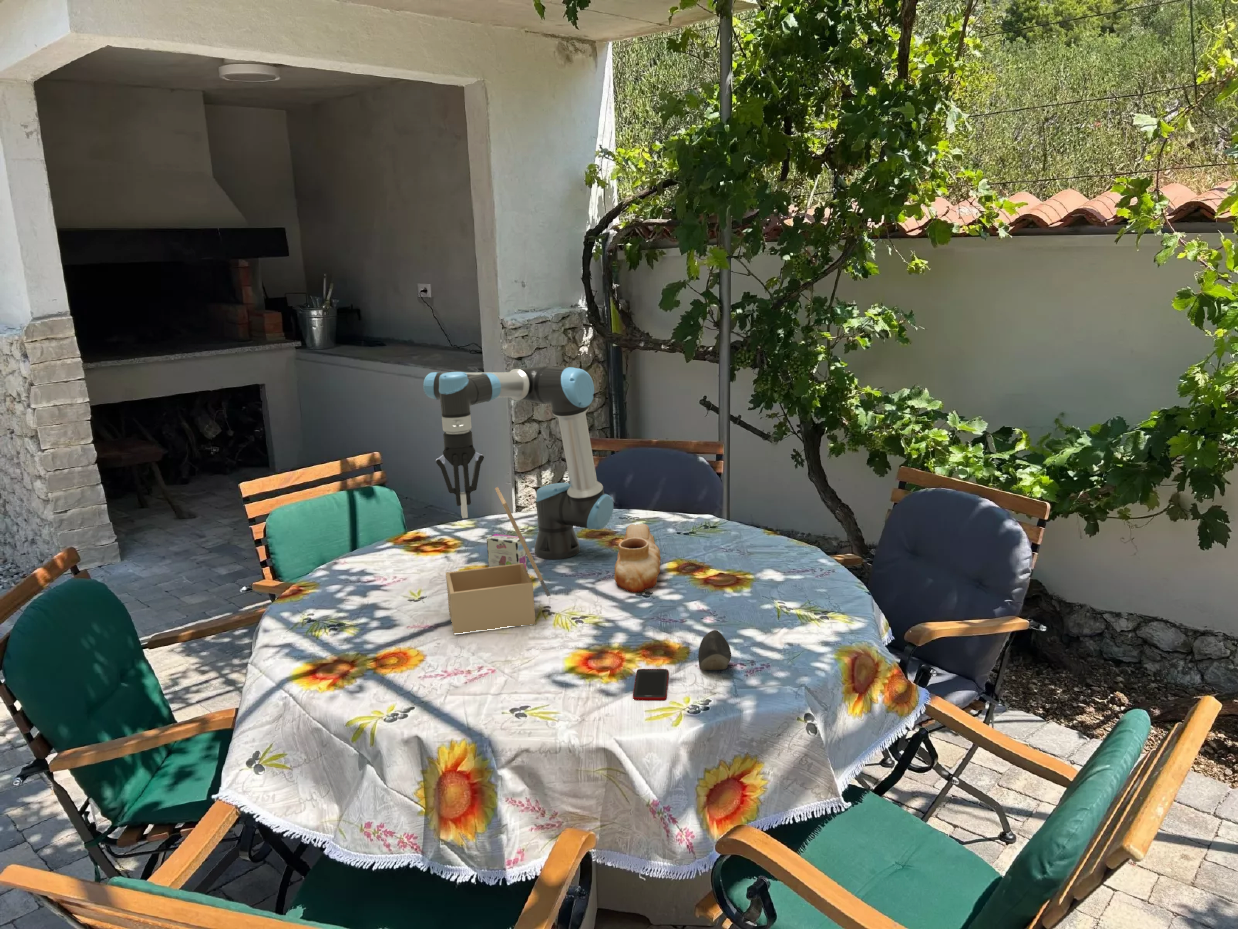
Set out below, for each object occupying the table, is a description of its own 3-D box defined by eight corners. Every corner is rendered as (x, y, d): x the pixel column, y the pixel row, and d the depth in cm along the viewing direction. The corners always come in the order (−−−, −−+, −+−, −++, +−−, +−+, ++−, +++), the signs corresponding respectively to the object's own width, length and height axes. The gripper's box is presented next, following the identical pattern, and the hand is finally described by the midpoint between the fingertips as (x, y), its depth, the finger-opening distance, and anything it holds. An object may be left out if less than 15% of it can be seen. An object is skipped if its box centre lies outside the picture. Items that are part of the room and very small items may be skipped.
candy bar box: (529, 588, 282) (526, 537, 278) (520, 594, 278) (516, 542, 274) (499, 583, 288) (495, 532, 284) (489, 589, 283) (485, 537, 279)
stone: (702, 675, 228) (694, 656, 220) (698, 648, 233) (691, 628, 225) (734, 670, 226) (728, 650, 219) (730, 642, 231) (724, 622, 224)
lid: (539, 581, 272) (542, 579, 272) (550, 602, 256) (553, 601, 256) (494, 488, 262) (497, 486, 262) (502, 504, 246) (506, 502, 246)
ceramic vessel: (663, 563, 299) (661, 518, 296) (658, 594, 274) (657, 545, 271) (620, 563, 301) (618, 519, 297) (611, 594, 276) (609, 546, 272)
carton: (525, 602, 272) (523, 563, 269) (535, 624, 256) (532, 583, 253) (449, 612, 267) (445, 572, 264) (454, 635, 251) (450, 593, 248)
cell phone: (669, 672, 226) (668, 668, 226) (666, 702, 212) (666, 698, 212) (637, 672, 227) (636, 668, 227) (632, 701, 213) (632, 697, 213)
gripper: (433, 436, 242) (441, 523, 248) (483, 431, 245) (490, 517, 251) (431, 430, 249) (439, 515, 255) (480, 426, 252) (487, 510, 258)
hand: (464, 516), depth 253 cm, fingers closed
